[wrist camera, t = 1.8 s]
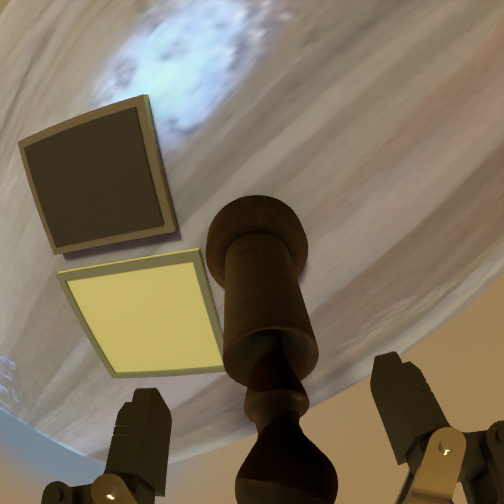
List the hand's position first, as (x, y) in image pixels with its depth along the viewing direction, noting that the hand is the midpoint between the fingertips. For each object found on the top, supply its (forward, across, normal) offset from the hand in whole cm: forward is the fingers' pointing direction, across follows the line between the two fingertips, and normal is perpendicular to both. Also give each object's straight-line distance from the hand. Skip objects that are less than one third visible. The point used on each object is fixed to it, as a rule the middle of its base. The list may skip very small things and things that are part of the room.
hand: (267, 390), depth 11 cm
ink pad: (+13, +10, -6) cm, 17 cm away
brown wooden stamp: (+13, 0, 0) cm, 13 cm away
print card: (+13, +10, +6) cm, 17 cm away
